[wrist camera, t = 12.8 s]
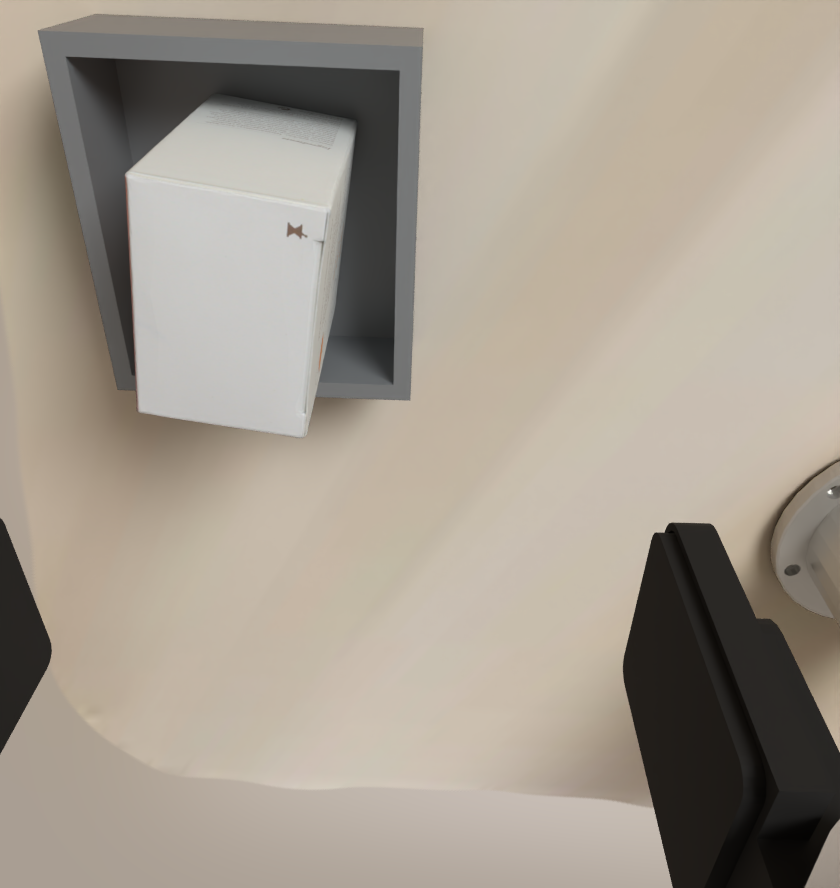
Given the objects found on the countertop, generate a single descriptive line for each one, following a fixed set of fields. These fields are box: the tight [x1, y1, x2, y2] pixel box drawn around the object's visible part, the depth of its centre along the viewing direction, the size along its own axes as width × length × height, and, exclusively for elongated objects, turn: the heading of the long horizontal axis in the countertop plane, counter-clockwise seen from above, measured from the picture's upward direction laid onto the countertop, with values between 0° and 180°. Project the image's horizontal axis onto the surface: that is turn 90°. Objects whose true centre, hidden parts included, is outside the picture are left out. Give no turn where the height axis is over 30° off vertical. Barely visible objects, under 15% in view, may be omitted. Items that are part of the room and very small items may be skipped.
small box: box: [125, 93, 357, 438], centre depth 26 cm, size 8×6×10 cm
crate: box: [38, 14, 423, 400], centre depth 29 cm, size 12×13×5 cm
